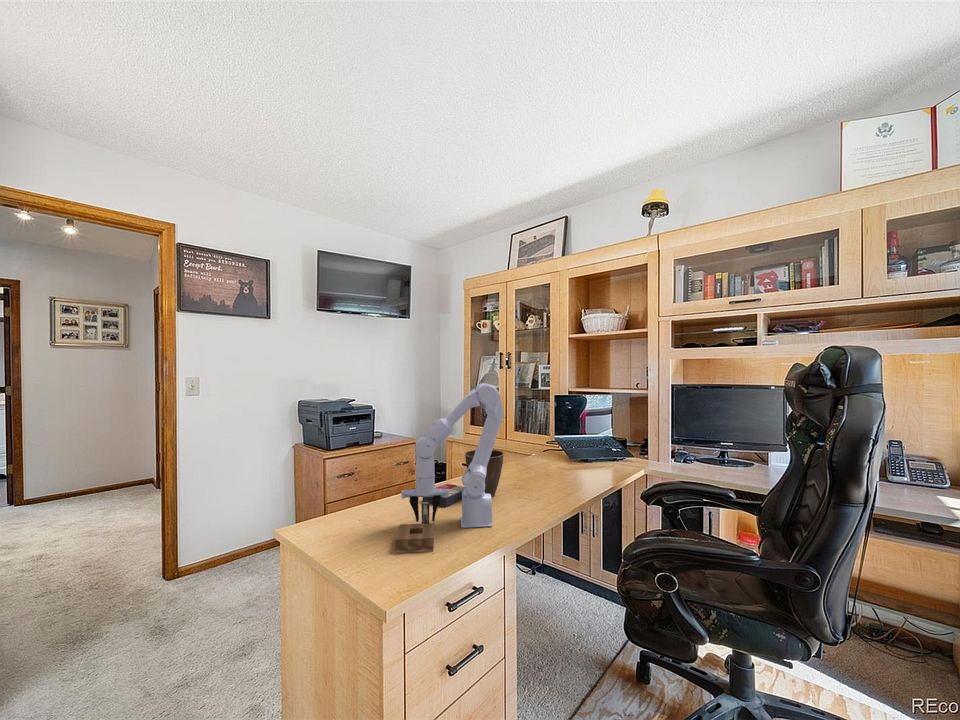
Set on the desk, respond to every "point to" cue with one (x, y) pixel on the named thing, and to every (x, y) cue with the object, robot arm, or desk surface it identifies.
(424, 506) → the pin
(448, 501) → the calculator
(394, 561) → the desk surface
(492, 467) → the plant pot
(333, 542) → the desk surface
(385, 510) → the desk surface
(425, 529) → the bore block
